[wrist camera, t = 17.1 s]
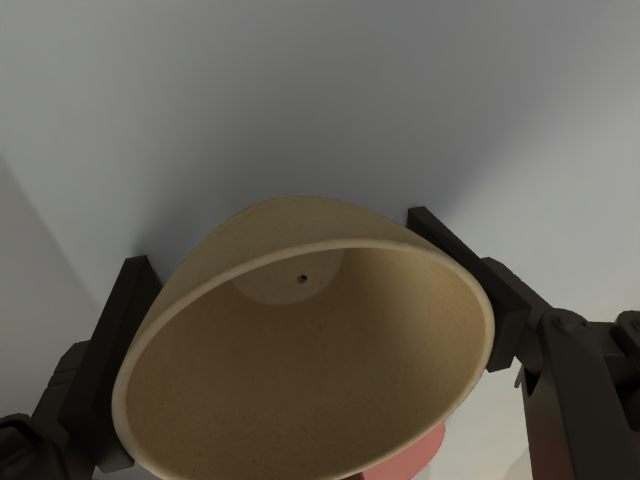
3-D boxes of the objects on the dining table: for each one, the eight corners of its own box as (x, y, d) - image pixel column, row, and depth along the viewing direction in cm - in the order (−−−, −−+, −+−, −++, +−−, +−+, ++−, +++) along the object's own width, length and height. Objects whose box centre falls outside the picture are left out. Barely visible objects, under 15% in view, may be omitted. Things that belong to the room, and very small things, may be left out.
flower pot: (278, 360, 19) (302, 518, 13) (105, 257, 13) (7, 446, 7) (430, 248, 17) (540, 371, 11) (300, 75, 11) (378, 132, 5)
